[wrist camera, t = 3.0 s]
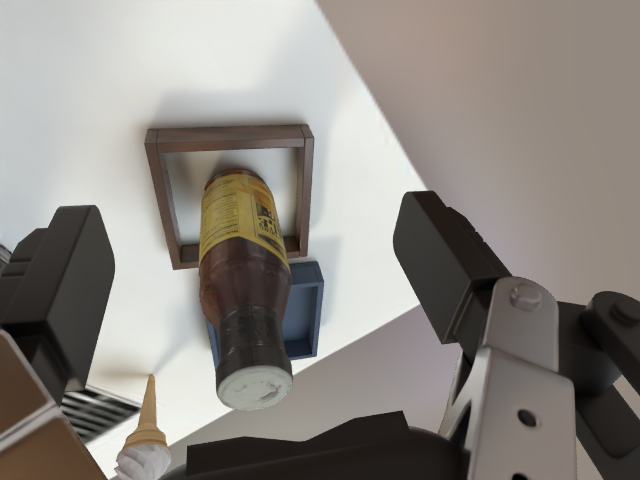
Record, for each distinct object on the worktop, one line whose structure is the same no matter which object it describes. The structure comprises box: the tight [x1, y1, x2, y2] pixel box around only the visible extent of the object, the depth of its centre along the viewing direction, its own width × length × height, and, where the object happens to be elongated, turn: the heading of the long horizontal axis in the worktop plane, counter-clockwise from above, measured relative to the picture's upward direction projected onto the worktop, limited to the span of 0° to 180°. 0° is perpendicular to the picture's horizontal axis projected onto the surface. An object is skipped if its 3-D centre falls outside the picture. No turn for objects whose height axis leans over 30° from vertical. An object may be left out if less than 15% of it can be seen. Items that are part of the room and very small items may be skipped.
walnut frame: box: [144, 125, 314, 270], centre depth 35 cm, size 13×13×2 cm
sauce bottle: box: [199, 169, 293, 410], centre depth 29 cm, size 6×6×20 cm
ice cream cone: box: [114, 376, 172, 480], centre depth 44 cm, size 6×6×15 cm
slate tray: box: [206, 262, 324, 372], centre depth 45 cm, size 12×13×3 cm
